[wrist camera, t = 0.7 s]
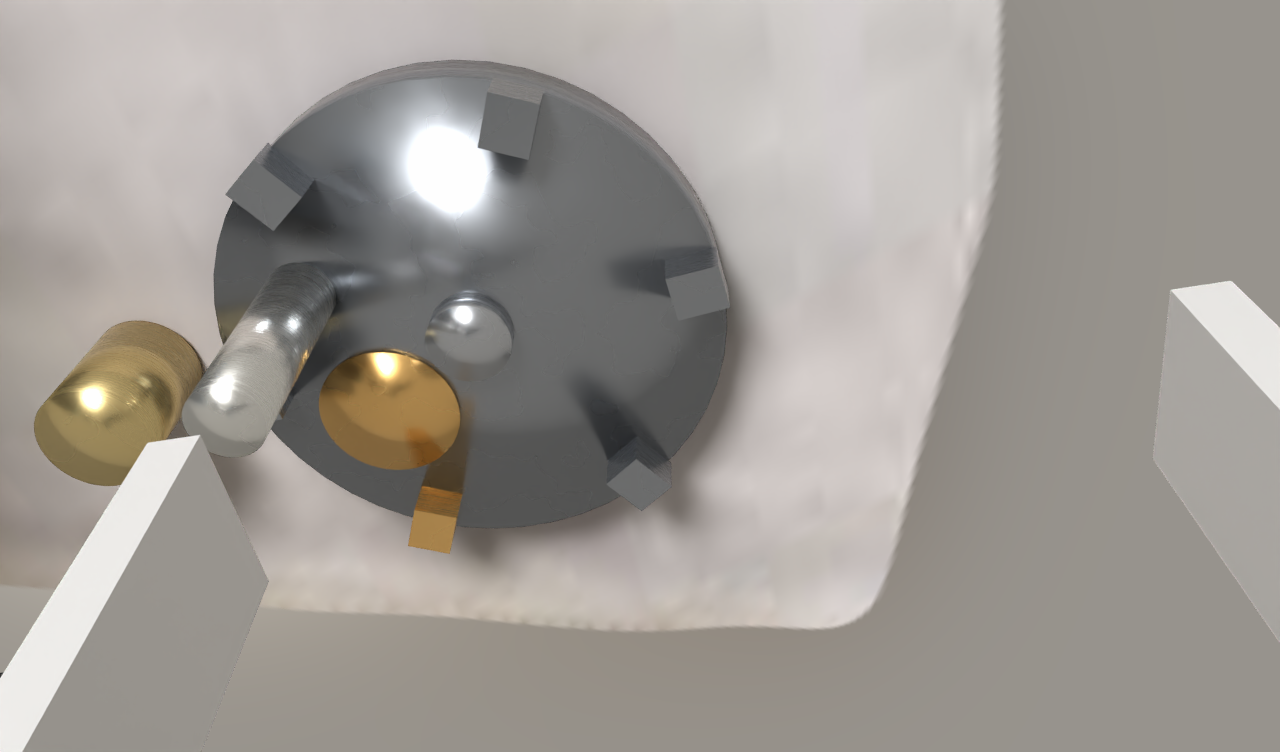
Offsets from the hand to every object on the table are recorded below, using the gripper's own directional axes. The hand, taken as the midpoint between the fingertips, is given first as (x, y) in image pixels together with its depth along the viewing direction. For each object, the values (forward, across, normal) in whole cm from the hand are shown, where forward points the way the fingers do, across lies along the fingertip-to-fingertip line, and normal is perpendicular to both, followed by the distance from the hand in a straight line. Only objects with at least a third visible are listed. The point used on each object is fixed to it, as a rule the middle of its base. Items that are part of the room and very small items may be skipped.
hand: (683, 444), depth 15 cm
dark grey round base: (+24, -8, -9) cm, 27 cm away
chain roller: (+24, -21, -10) cm, 34 cm away
